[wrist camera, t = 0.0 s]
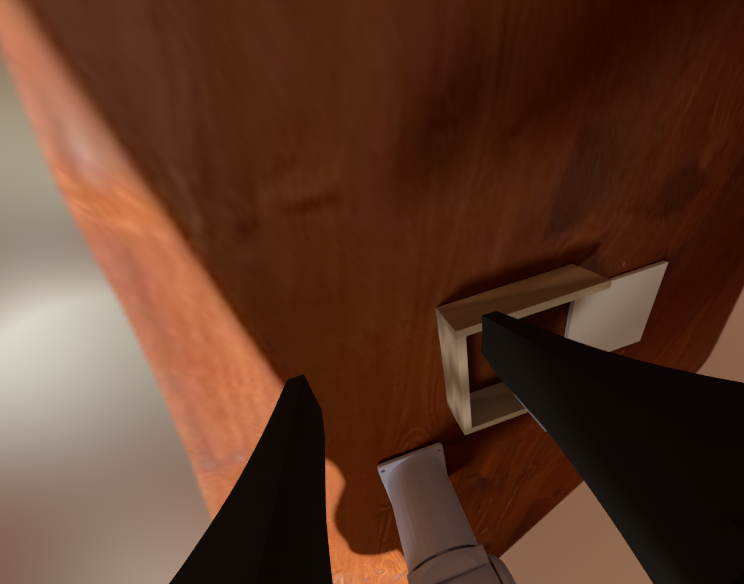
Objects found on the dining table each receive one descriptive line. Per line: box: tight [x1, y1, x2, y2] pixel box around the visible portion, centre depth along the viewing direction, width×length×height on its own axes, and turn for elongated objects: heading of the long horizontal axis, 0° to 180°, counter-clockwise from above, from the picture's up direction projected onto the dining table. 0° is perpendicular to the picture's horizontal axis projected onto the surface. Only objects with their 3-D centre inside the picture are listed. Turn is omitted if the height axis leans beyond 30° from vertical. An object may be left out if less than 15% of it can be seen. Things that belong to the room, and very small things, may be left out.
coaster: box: [564, 261, 668, 352], centre depth 27 cm, size 10×10×1 cm
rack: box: [436, 264, 612, 435], centre depth 24 cm, size 13×13×4 cm
